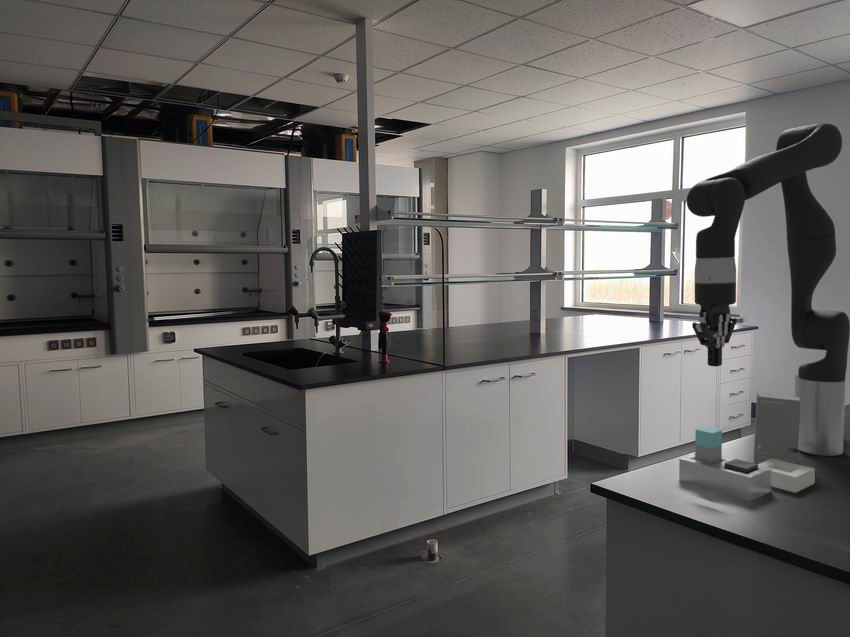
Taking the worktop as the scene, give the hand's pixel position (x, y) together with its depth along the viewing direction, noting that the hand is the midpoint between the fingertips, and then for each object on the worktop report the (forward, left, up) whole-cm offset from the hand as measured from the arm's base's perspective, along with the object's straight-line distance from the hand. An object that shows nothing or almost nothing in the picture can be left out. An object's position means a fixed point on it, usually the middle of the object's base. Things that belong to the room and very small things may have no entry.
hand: (714, 365), depth 121 cm
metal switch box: (+4, +5, -24) cm, 25 cm away
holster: (-7, +11, -24) cm, 27 cm away
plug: (+4, +1, -23) cm, 24 cm away
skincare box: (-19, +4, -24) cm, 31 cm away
